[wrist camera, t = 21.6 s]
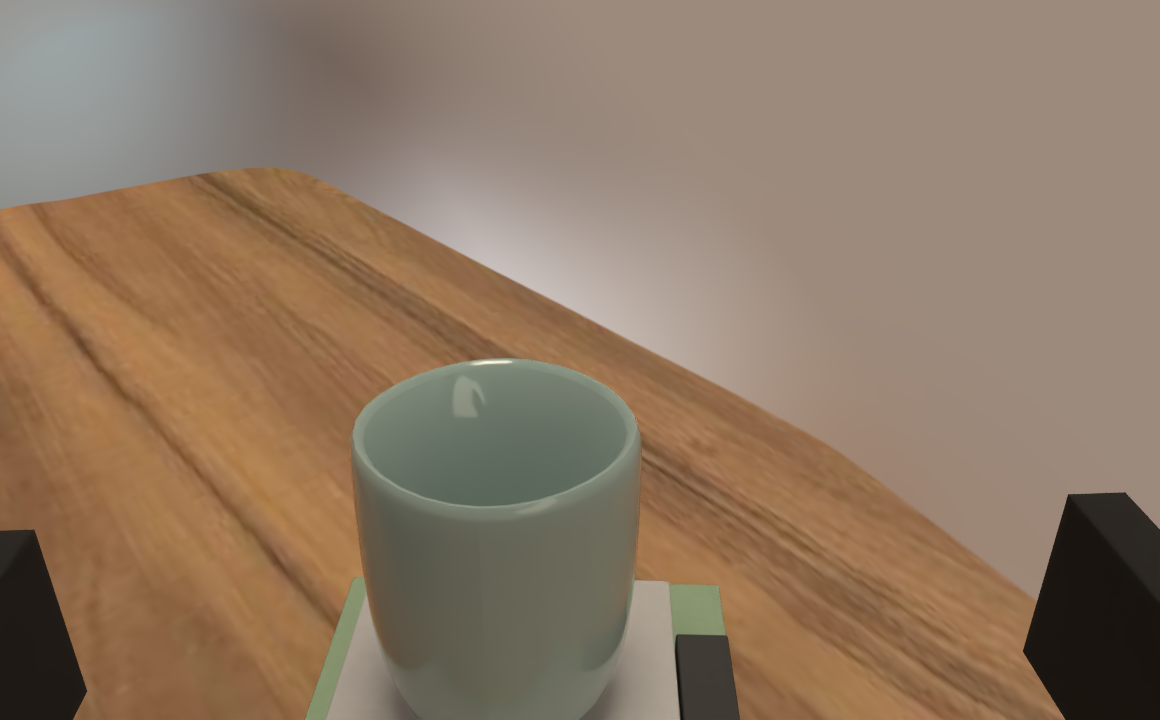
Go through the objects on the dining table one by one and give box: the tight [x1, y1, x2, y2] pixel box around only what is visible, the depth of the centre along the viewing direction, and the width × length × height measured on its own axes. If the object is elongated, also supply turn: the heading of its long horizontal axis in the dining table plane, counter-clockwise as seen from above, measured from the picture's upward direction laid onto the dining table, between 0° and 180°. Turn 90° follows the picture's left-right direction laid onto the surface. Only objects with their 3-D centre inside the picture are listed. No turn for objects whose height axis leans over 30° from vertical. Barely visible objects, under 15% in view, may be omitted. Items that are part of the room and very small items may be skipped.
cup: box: [349, 358, 642, 720], centre depth 29 cm, size 8×8×10 cm
